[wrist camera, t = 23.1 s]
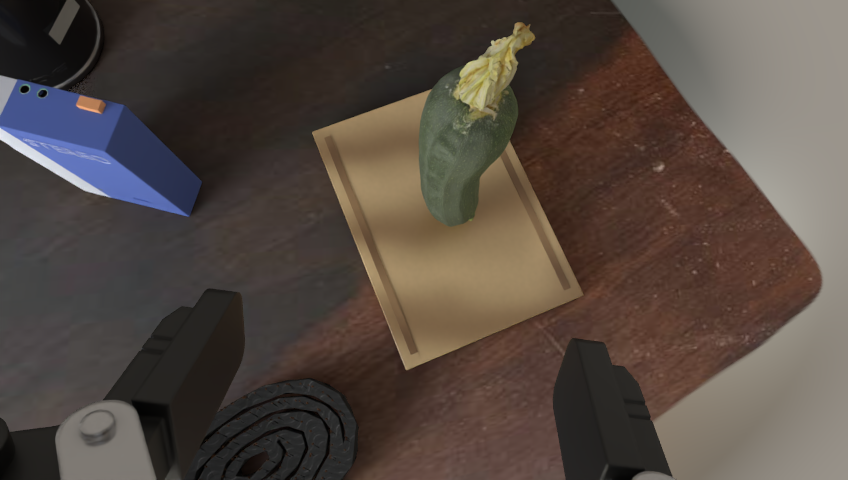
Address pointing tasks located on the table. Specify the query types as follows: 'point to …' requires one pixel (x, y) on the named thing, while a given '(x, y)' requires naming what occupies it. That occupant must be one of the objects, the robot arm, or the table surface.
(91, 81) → the table surface
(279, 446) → the hairbrush
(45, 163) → the walkman
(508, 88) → the vegetable
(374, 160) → the cutting board
